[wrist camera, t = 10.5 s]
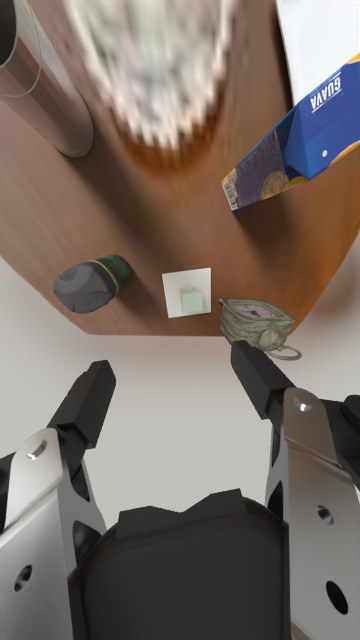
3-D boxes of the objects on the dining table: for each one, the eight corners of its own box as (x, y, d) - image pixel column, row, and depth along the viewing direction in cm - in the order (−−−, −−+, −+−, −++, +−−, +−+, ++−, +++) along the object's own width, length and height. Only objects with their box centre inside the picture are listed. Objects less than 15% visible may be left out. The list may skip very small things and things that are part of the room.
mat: (161, 273, 42) (161, 274, 41) (210, 267, 42) (210, 268, 42) (168, 317, 48) (168, 318, 48) (210, 311, 49) (210, 312, 49)
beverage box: (273, 182, 35) (412, 107, 15) (232, 213, 37) (309, 180, 17) (265, 146, 32) (424, -2, 12) (220, 182, 34) (298, 102, 14)
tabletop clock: (257, 296, 48) (337, 340, 26) (250, 320, 52) (313, 376, 30) (215, 294, 46) (262, 341, 24) (210, 320, 51) (247, 379, 29)
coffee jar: (119, 249, 38) (86, 254, 22) (136, 277, 42) (120, 299, 25) (88, 267, 39) (35, 285, 23) (108, 292, 43) (74, 324, 26)
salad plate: (289, 157, 33) (301, 148, 30) (260, 1, 24) (274, -33, 21) (391, 80, 29) (417, 61, 26) (403, -142, 20) (446, -209, 17)
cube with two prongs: (178, 287, 44) (181, 294, 38) (196, 284, 44) (202, 291, 38) (180, 304, 46) (183, 313, 40) (197, 301, 46) (202, 310, 40)
